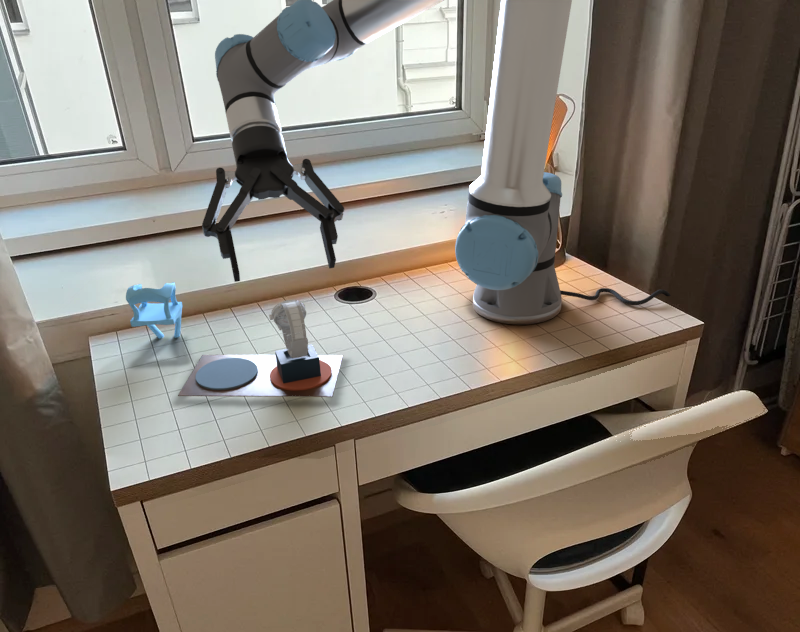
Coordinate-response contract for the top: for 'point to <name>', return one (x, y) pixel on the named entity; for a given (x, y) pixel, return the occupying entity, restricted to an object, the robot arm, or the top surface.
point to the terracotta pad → (304, 383)
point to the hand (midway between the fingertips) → (285, 271)
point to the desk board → (262, 379)
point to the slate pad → (226, 373)
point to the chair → (155, 307)
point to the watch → (294, 343)
